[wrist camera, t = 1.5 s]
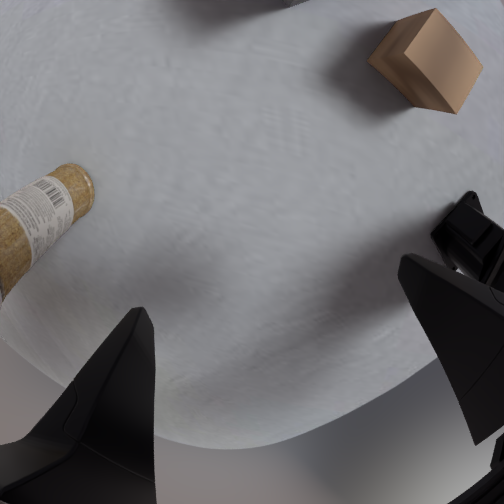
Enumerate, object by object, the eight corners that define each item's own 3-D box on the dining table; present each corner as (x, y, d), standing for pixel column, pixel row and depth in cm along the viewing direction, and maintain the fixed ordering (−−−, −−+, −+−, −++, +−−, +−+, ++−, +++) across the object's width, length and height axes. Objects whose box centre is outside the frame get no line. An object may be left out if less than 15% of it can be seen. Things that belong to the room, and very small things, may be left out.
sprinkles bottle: (44, 182, 17) (-73, 275, 5) (77, 150, 16) (-65, 235, 5) (72, 226, 19) (-26, 342, 8) (107, 199, 18) (-7, 324, 7)
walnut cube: (440, 66, 13) (483, 66, 9) (413, 106, 16) (456, 114, 11) (396, 20, 12) (435, 7, 8) (366, 61, 14) (403, 53, 10)
